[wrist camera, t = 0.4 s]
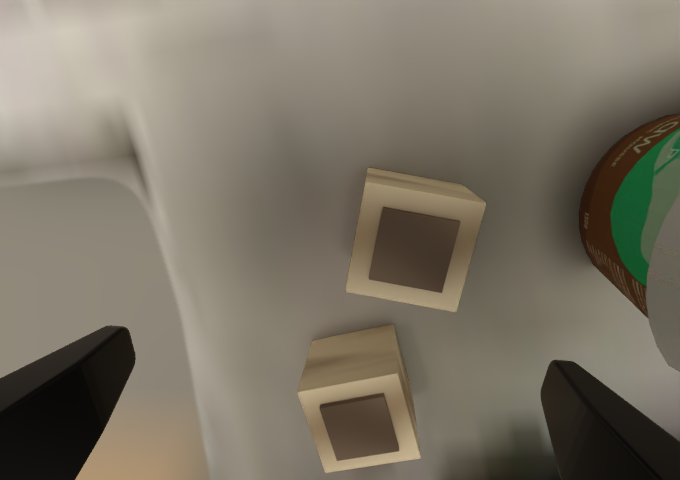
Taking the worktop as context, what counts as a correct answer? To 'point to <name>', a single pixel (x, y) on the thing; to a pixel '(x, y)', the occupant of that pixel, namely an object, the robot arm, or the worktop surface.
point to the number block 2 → (359, 400)
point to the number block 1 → (414, 239)
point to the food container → (640, 225)
